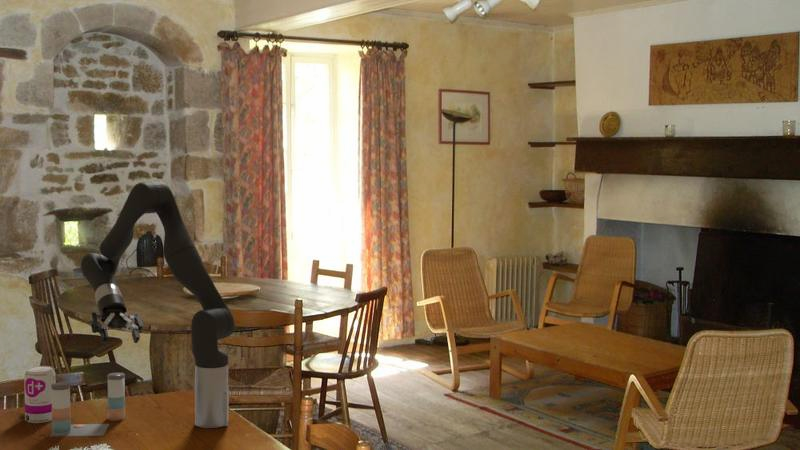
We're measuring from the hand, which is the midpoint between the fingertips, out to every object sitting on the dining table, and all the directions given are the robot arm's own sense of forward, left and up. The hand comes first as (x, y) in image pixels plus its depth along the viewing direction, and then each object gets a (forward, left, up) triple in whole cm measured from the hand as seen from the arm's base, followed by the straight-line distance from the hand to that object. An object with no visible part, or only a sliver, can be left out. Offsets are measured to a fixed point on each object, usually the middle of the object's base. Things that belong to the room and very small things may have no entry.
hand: (122, 341), depth 259 cm
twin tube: (+14, +11, -23) cm, 29 cm away
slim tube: (+2, -1, -23) cm, 23 cm away
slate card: (+10, +9, -23) cm, 27 cm away
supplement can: (+23, -2, -24) cm, 33 cm away
